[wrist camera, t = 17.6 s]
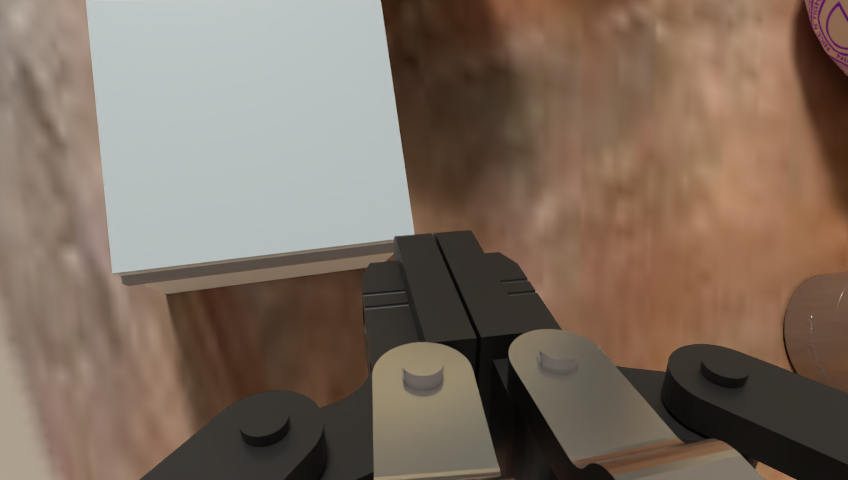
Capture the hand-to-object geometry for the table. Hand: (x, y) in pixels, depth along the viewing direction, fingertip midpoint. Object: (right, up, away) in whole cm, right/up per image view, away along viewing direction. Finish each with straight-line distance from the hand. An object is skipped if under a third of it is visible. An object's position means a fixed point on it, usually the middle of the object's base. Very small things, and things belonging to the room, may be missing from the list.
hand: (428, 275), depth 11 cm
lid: (-7, +5, +13) cm, 16 cm away
